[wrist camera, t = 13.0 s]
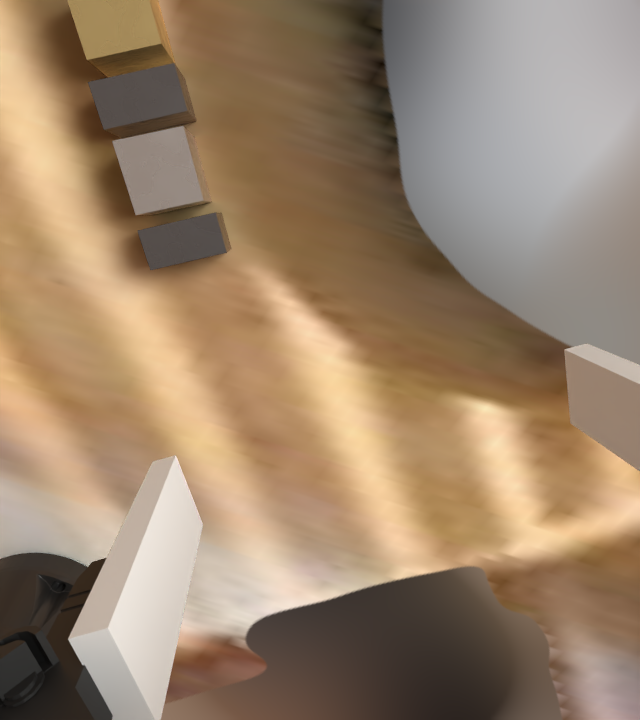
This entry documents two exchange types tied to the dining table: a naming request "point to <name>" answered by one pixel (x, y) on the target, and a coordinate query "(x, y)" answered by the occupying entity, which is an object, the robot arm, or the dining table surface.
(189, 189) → the light gray cube
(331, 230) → the dining table surface
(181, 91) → the dark grey cubes
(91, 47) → the yellow cube
